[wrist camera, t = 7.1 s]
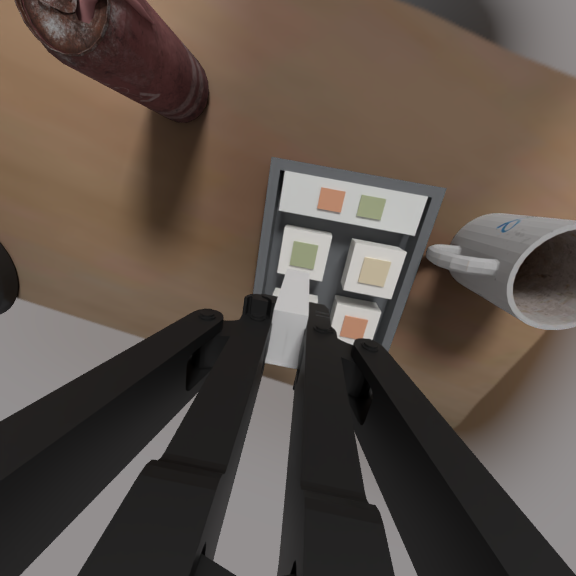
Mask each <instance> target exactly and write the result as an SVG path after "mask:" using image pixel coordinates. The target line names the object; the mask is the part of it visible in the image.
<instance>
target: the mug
mask: <svg viewBox="0 0 576 576" xmlns="http://www.w3.org/2000/svg"><path fill="white" fill-rule="evenodd" d="M426 257H427V259H428V260H429V261H431V262H432V263H433V264H435V265H437V266H439V267H442V268H445V269H448V270H449V271H450V273H451V275H452V277H453V278H454V279H455V280H456V281H457V282H459V283H460V284H462V285H463V286H465V287H466V288H468V289H470V290H471V291H473V292H475V293H476V294H478V295H480V296H481V297H483V298H485V299H486V300H488V301H490V302H491V303H493V304H494V305H496V306H498V307H499V308H501V309H503V310H504V311H506V312H508V313H509V314H511V315H513V316H514V317H516V318H518V319H519V320H521V321H522V322H524V323H526V324H528V325H530V326H533V327H535V328H540V329H545V330H560V329H567V328H572V327H575V326H576V221H575V220H565V219H555V218H544V217H534V216H524V215H513V214H503V213H492V214H488V215H483V216H481V217H478V218H476V219H474V220H472V221H471V222H469V223H467V224H466V225H465V226H464V227H463V228H461V229H460V230H459V232H458V233H457V234H456V235H455V237H454V238H453V240H452V242H451V244H450V245H437V244H436V245H432V246H430V247H428V249H427V251H426Z"/></svg>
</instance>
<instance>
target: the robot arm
mask: <svg viewBox="0 0 576 576" xmlns="http://www.w3.org/2000/svg"><path fill="white" fill-rule="evenodd" d="M309 276H310V273H308V272H303V271H297V270H292V269H287V271H286V274H285V277H284V280H283V283H282V286H281V289H280V292H279V295H278V296H273V295H267V294H250V295H247V296H246V297H245V298H244V306H243V314H242V316H241V318H240V320H235V321H223V314H222V313H221V312H218V311H216V310H212V309H201V310H197V311H194V312H192V313H190V314H189V315H187V316H185V317H183V318H182V319H180V320H178V321H176V322H175V323H173V324H171V325H169V326H168V327H166V328H164V329H162V330H161V331H159V332H157V333H155V334H153V335H152V336H150V337H148V338H146V339H145V340H143V341H141V342H139V343H138V344H136V345H134V346H132V347H131V348H129V349H127V350H125V351H124V352H122V353H120V354H118V355H117V356H115V357H113V358H112V359H109V360H108V361H106V362H104V363H102V364H101V365H99V366H97V367H95V368H94V369H92V370H90V371H88V372H87V373H85V374H83V375H81V376H80V377H78V378H76V379H74V380H73V381H71V382H69V383H67V384H66V385H64V386H62V387H60V388H59V389H57V390H55V391H53V392H51V393H50V394H48V395H46V396H44V397H43V398H41V399H39V400H37V401H36V402H34V403H32V404H31V405H29V406H27V407H25V408H23V409H22V410H20V411H18V412H16V413H14V414H13V415H11V416H9V417H7V418H6V419H4V420H2V421H0V576H19V575H20V574H22V573H23V571H24V570H25V569H26V568H27V567H28V566H29V565H30V564H31V563H32V562H33V561H34V560H35V559H36V558H37V557H38V556H39V555H40V554H41V553H42V552H43V551H44V550H45V549H46V548H47V547H48V546H49V545H50V544H51V543H52V542H53V541H54V540H55V539H56V537H58V536H59V535H60V534H61V532H62V531H63V530H64V529H65V528H66V527H67V526H68V525H69V524H70V523H71V522H72V521H73V520H74V519H75V518H76V517H77V516H78V515H79V514H80V513H81V512H82V511H83V510H84V509H85V508H86V507H87V506H88V505H89V504H90V503H91V502H92V500H94V498H95V497H96V496H97V495H98V494H99V493H100V492H101V491H102V490H103V489H104V488H105V487H106V486H107V485H108V484H109V483H110V482H111V481H112V480H113V479H114V478H115V477H116V476H117V475H118V474H119V473H120V472H121V471H122V470H123V469H124V468H125V467H126V466H127V465H128V464H129V463H130V462H131V461H132V459H133V458H134V457H135V456H136V455H137V454H138V453H139V452H140V451H141V450H142V449H143V448H144V447H145V446H146V445H147V444H148V443H149V442H150V441H151V440H152V439H153V438H154V437H155V436H156V435H157V434H158V433H159V432H160V431H161V430H162V429H163V428H164V427H165V425H167V424H168V422H169V421H170V420H171V419H172V418H173V417H174V416H175V415H176V414H177V413H178V412H179V411H180V410H181V409H182V408H183V407H184V406H185V405H186V404H187V403H188V402H189V401H190V400H191V399H192V398H193V397H194V396H195V394H197V393H198V394H197V396H196V398H195V399H194V401H193V403H192V405H191V406H190V408H189V410H188V412H187V414H186V415H185V417H184V419H183V421H182V423H181V424H180V426H179V428H178V429H177V431H176V433H175V435H174V436H173V438H172V440H171V442H170V444H169V445H168V447H167V449H166V451H165V453H164V454H163V455H162V457H161V458H160V459H159V460H151V461H150V462H149V463H147V464H146V466H145V467H144V468H143V470H142V471H141V473H140V474H139V476H138V477H137V479H136V480H135V482H134V484H133V485H132V487H131V489H130V490H129V492H128V494H127V495H126V497H125V498H124V500H123V502H122V503H121V505H120V507H119V509H118V510H117V512H116V513H115V515H114V517H113V518H112V520H111V521H110V523H109V525H108V526H107V528H106V530H105V531H104V533H103V534H102V536H101V538H100V539H99V541H98V543H97V544H96V546H95V548H94V549H93V551H92V553H91V554H90V556H89V557H88V559H87V561H86V563H85V564H84V566H83V567H82V569H81V570H80V572H79V574H78V575H77V576H236V575H234V574H233V573H231V572H229V571H228V570H226V569H225V568H223V567H222V566H220V565H219V564H217V563H215V562H214V561H213V559H214V555H215V551H216V546H217V542H218V539H219V535H220V531H221V528H222V524H223V520H224V516H225V513H226V509H227V505H228V501H229V498H230V494H231V490H232V486H233V483H234V479H235V475H236V471H237V467H238V464H239V460H240V456H241V453H242V449H243V445H244V441H245V438H246V434H247V430H248V426H249V423H250V419H251V415H252V411H253V408H254V404H255V400H256V397H257V392H258V389H259V385H260V381H261V378H262V374H263V370H264V365H265V363H269V364H274V365H279V366H284V367H289V368H294V369H297V372H296V377H295V381H294V386H293V390H294V401H293V412H292V423H291V434H290V446H289V456H288V467H287V479H286V490H285V501H284V513H283V523H282V535H281V546H280V556H279V565H278V573H277V576H395V575H394V571H393V566H392V562H391V557H390V552H389V548H388V543H387V538H386V534H385V529H384V525H383V521H382V518H381V515H380V512H379V510H378V508H377V507H376V505H372V504H369V503H368V501H367V499H366V495H365V491H364V485H363V479H362V473H361V468H360V462H359V456H358V451H357V445H356V440H355V434H356V436H357V438H358V441H359V443H360V445H361V447H362V450H363V452H364V454H365V457H366V459H367V461H368V463H369V466H370V468H371V470H372V472H373V475H374V477H375V479H376V481H377V484H378V486H379V488H380V491H381V493H382V495H383V497H384V500H385V502H386V504H387V507H388V508H389V511H390V513H391V516H392V518H393V520H394V522H395V525H396V527H397V529H398V532H399V534H400V536H401V538H402V541H403V543H404V545H405V547H406V550H407V552H408V554H409V556H410V559H411V561H412V563H413V566H414V568H415V570H416V573H417V575H418V576H576V575H575V574H574V573H573V571H572V570H571V569H570V568H569V567H568V566H567V564H566V563H565V562H564V561H563V559H562V558H561V557H560V556H559V555H558V553H557V552H556V551H555V550H554V549H553V548H552V546H551V545H550V544H549V543H548V542H547V540H546V539H545V538H544V537H543V536H542V534H541V533H540V532H539V531H538V530H537V529H536V527H535V526H534V525H533V524H532V523H531V522H530V520H529V519H528V518H527V517H526V515H525V514H524V513H523V512H522V511H521V510H520V508H519V507H518V506H517V505H516V504H515V502H514V501H513V500H512V499H511V498H510V496H509V495H508V494H507V493H506V492H505V491H504V490H503V488H502V487H501V486H500V485H499V483H498V482H497V481H496V480H495V479H494V478H493V476H492V475H491V474H490V473H489V472H488V470H487V469H486V468H485V467H484V466H483V464H482V463H481V462H480V461H479V460H478V458H476V456H475V455H474V454H473V453H472V451H471V450H470V449H469V448H468V447H467V446H466V444H465V443H464V442H463V441H462V439H461V438H460V437H459V436H458V435H457V434H456V432H455V431H454V430H453V429H452V428H451V426H450V425H449V424H448V423H447V422H446V420H445V419H444V418H443V417H442V416H441V415H440V413H439V412H438V411H437V410H436V409H435V407H434V406H433V405H432V404H431V403H430V401H429V400H428V399H427V398H426V397H425V395H424V394H423V393H422V392H421V391H420V390H419V388H418V387H417V386H416V385H415V384H414V382H413V381H412V380H411V379H410V378H409V376H408V375H407V374H406V373H405V372H404V371H403V369H402V368H401V367H400V366H399V365H398V363H397V362H396V361H395V360H394V359H393V357H392V356H391V355H390V354H389V353H388V352H387V350H386V349H385V348H384V347H383V346H382V345H381V344H379V343H377V342H376V341H374V340H371V339H365V338H358V339H356V340H355V341H354V343H353V345H351V344H349V343H346V342H344V341H342V340H340V339H338V338H337V332H336V331H335V329H334V328H333V327H331V322H330V315H329V309H328V308H327V307H326V306H325V305H323V304H318V303H313V302H309ZM17 292H18V280H17V275H16V271H15V268H14V265H13V263H12V261H11V259H10V257H9V255H8V253H7V252H6V250H5V249H4V247H3V246H2V245H1V243H0V314H2V313H4V312H6V311H7V310H8V309H10V308H11V306H12V305H13V304H14V301H15V300H16V297H17ZM297 366H298V368H297ZM354 432H355V434H354Z"/></svg>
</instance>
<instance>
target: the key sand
mask: <svg viewBox="0 0 576 576" xmlns="http://www.w3.org/2000/svg"><path fill="white" fill-rule="evenodd" d="M406 254H407V252H406V251H404V250H402V249H401V248H399V247H396V246H391V245H385V244H380V243H375V242H370V241H364V240H359V239H354V238H352V240H351V244H350V247H349V251H348V255H347V259H346V263H345V267H344V271H343V275H342V279H341V284H342V288H343V290H346V291H351V292H356V293H361V294H366V295H371V296H376V297H381V298H387V299H392V296H393V293H394V290H395V287H396V284H397V281H398V278H399V275H400V272H401V269H402V266H403V263H404V260H405V257H406Z"/></svg>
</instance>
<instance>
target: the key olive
mask: <svg viewBox="0 0 576 576" xmlns="http://www.w3.org/2000/svg"><path fill="white" fill-rule="evenodd" d="M331 240H332V234H331V232H326V231H320V230H315V229H310V228H304V227H299V226H294V225H288V224H287V225H286V226H285V228H284V234H283V240H282V246H281V252H280V258H279V264H278V270H277V273H281V274H286V271H287V269H292V270H297V271H303V272H308V273H310V276H309V279H311V280H317V281H322V279H323V275H324V270H325V266H326V262H327V257H328V253H329V249H330V244H331Z"/></svg>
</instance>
